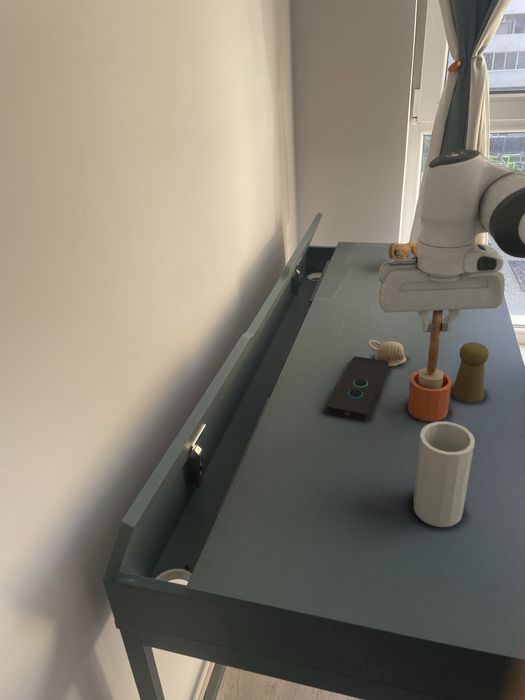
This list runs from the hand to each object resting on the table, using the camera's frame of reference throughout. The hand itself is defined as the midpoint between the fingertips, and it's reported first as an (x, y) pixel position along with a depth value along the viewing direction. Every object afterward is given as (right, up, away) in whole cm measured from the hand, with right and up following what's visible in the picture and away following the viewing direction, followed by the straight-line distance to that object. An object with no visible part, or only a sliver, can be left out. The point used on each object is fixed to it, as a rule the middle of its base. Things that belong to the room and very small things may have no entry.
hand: (436, 330), depth 93 cm
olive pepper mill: (+11, -12, +12) cm, 20 cm away
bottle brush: (+1, -14, +8) cm, 16 cm away
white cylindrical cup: (-4, -28, -13) cm, 31 cm away
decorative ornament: (-3, -6, +25) cm, 26 cm away
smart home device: (-10, -12, +16) cm, 23 cm away
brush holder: (+1, -15, +9) cm, 17 cm away
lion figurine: (+14, +23, +73) cm, 78 cm away
